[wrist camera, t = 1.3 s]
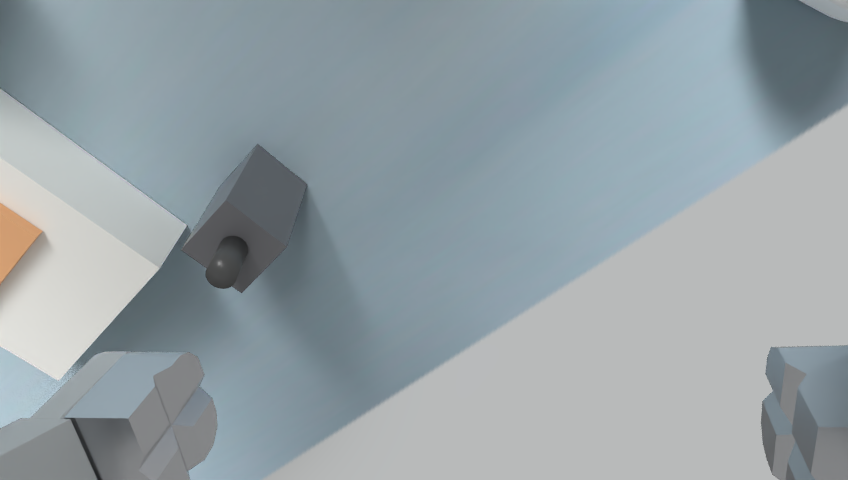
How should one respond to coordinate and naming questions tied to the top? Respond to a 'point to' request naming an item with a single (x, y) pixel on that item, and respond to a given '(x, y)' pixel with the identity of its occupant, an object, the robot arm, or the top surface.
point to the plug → (247, 221)
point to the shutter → (14, 239)
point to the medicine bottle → (830, 8)
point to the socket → (71, 242)
